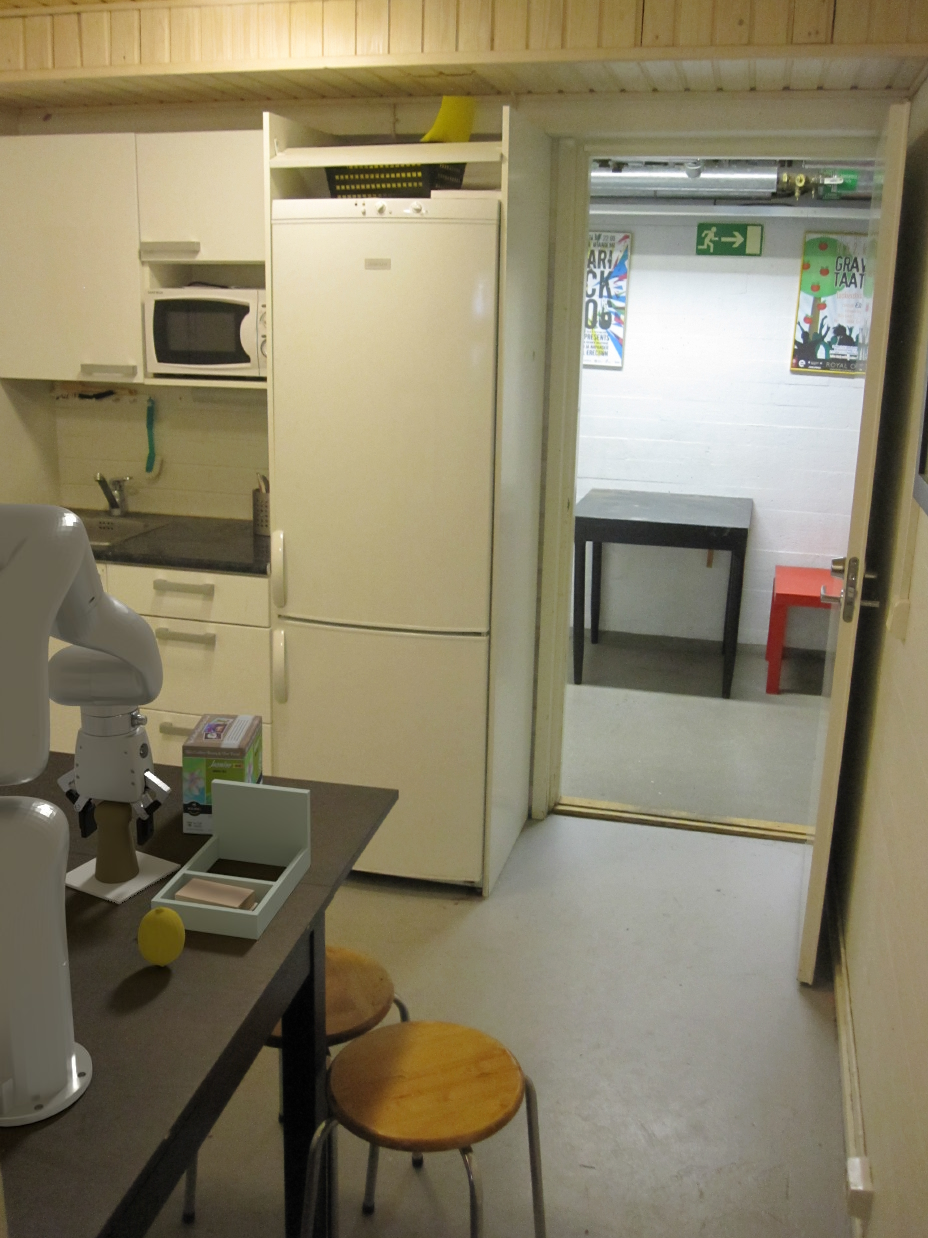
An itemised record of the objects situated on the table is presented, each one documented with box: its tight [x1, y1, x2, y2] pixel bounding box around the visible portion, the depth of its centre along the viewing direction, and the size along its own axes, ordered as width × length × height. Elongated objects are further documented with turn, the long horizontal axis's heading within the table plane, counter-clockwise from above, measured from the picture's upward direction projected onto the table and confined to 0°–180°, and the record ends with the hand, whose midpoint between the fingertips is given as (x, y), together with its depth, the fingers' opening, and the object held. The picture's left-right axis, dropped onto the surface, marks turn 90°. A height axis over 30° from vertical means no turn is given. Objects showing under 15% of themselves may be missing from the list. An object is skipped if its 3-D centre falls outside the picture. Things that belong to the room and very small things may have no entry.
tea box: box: [181, 713, 263, 835], centre depth 171 cm, size 15×10×15 cm
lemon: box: [137, 907, 186, 967], centre depth 130 cm, size 6×6×8 cm
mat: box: [65, 850, 182, 905], centre depth 153 cm, size 12×12×1 cm
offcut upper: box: [175, 878, 255, 911], centre depth 142 cm, size 5×9×2 cm, turn 72°
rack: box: [150, 779, 312, 940], centre depth 147 cm, size 20×15×12 cm
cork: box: [94, 800, 139, 884], centre depth 151 cm, size 6×6×11 cm
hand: (117, 837), depth 151 cm, fingers open, 8 cm apart
